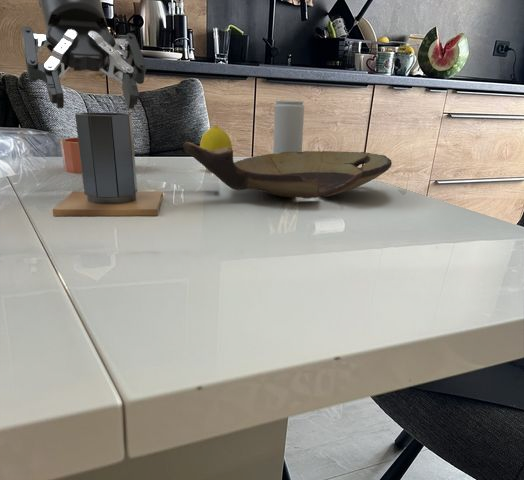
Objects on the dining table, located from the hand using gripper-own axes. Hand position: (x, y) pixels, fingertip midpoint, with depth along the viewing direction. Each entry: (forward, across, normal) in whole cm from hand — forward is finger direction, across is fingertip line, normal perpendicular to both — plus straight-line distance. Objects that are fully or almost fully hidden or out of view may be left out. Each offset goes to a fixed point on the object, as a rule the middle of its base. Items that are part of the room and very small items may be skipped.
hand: (97, 103), depth 67 cm
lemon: (-4, +22, +20) cm, 30 cm away
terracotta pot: (-9, +4, +26) cm, 28 cm away
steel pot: (+10, 0, +6) cm, 11 cm away
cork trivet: (+10, 0, +6) cm, 12 cm away
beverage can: (+1, +33, +16) cm, 36 cm away
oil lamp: (+11, +25, +6) cm, 28 cm away
